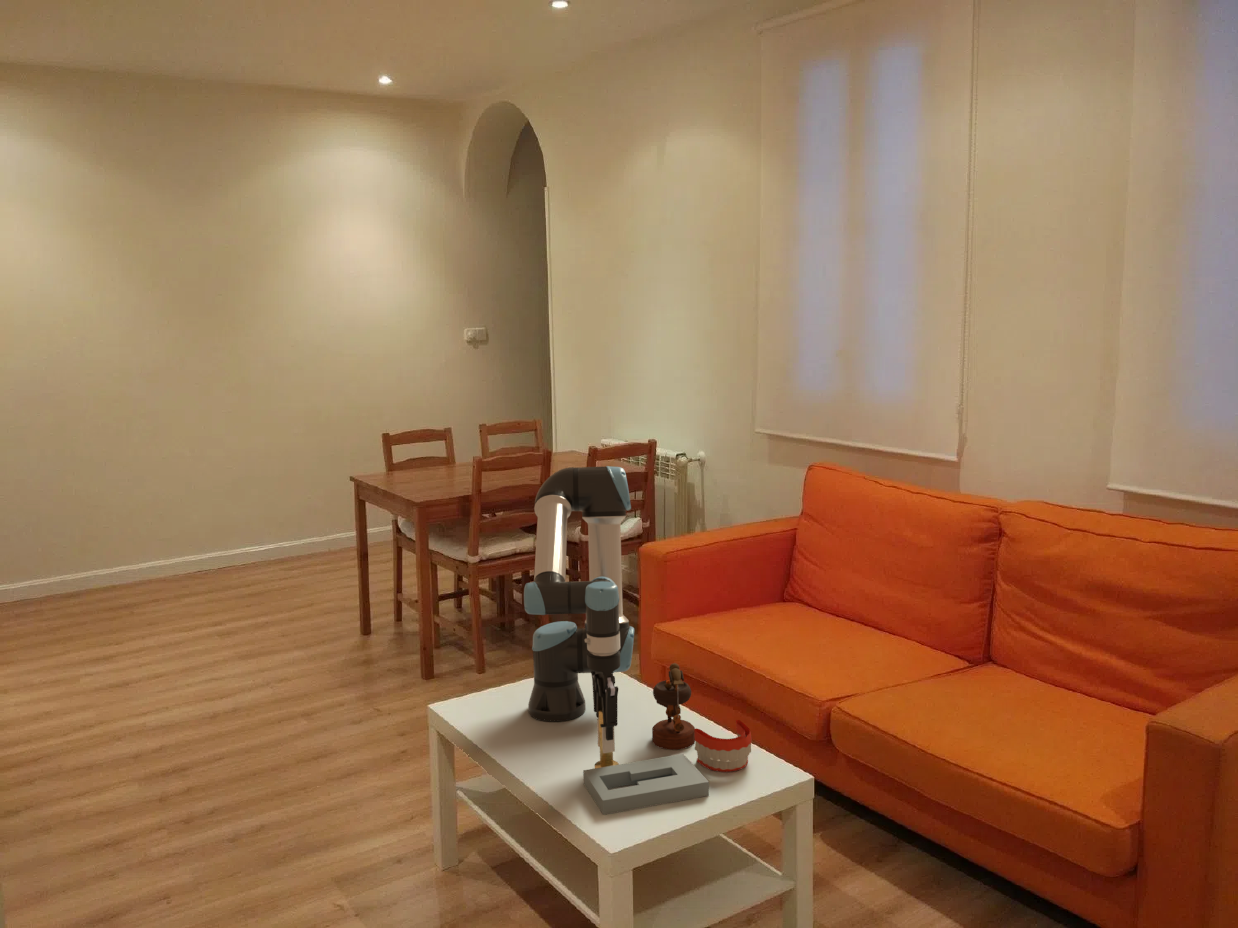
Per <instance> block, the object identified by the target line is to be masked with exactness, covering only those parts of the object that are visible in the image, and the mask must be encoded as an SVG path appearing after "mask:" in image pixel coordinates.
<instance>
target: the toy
mask: <svg viewBox="0 0 1238 928" xmlns="http://www.w3.org/2000/svg"><path fill="white" fill-rule="evenodd" d="M735 724H736V735H737V736H736V737H733V738H731V737H730V738H719V737H715V736H713V735H710V734H708V733H707V732H705V731H704V730H701V729H700V728H695V729H694V733H695V743H694V750H695V751H696V754H697V758H696V762H697V763H698V764H700V765H701V766H703V767H704V768H706V769H707V770H710V771H714V772H721V773H729V772H735V771H739V770H742V769H744V768H745V767H746V766H747V764H748V762H749V758H748V757H749V755H750V754H751V753H752V741H753V740H752V734H751V733H752V731H751V729H750V728H749V726H747V725H746V724H745V723H744V722H743V721H742V720H740V719H736V720H735Z"/></svg>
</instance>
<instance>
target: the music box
mask: <svg viewBox="0 0 1238 928" xmlns="http://www.w3.org/2000/svg"><path fill="white" fill-rule="evenodd" d="M668 678H669V679H666V680H661V681H659V682H657V683H656V684H655V686H654V687H653V690H652V695H653V697H654V699H655V701H656V704H658V705H660V706H662V707H664V708H666V709H665V714H666V716H667V719H663V720H660V721H658V722H656V723H655V724H654V725H653V726H652V729H651V732H652V733H651V734H652V740H651V741H652V743H653V745H654V746H655V747H657V748H659V749H660V748H661V749H663V750H670V751H671V750H672V751H676V750H684V749H687V748H690V747H692V746H693V745H695V742H696V741H695V733H694V729H696V728H695V726H694V725H693V724H692V723H691V722H689V721H687V720H684V719H682V716H681V711H682V709H681V707H680V705H682V704H685V703H687V702H688V701H689V700H690V699H691V696H692V689H691V687H690V685H689V684H688V683H687V682H686V681H685V677H684V674H683V670H680V665H679V664H678V663H677V662H673V663H671V664H670V666H669V670H668Z"/></svg>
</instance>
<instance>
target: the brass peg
mask: <svg viewBox="0 0 1238 928" xmlns="http://www.w3.org/2000/svg"><path fill="white" fill-rule="evenodd" d="M600 724H603V713H602V709H601V710H599V740H600V747H599V761H597V762H595V764H594V769H595V768H601V767H607V766H613V765H619V764H620V763H619V762H618V761H616V760H614V752H609V753H603V749H602V727H601V726H600Z"/></svg>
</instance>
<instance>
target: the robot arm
mask: <svg viewBox="0 0 1238 928" xmlns="http://www.w3.org/2000/svg"><path fill="white" fill-rule="evenodd" d="M629 490H630V489H629V485H628V479H627V474H626V471H625V468H623V467H621V466H611V465H610V466H609V465H606V466H585V467H584V466H582V467H581V466H579V467H574V466H573V467H565V468H561V469H559V470H557V471H555V472H554V473H552V474H551V475H550V476H549V477H548V478H546V479H545V481H544V482H543V483H542V485H541V486H540V488H539V489H538V491H537V493H536V496H535V500H534V513H535V516H536V517H537V523H536V525H537V526H536V540H535V556H534V557H535V559H534V560H535V561H534V575H533V576H534V577H533V581H532V582H526V583H525V585H524V589H523V605H524V611H525V613H527V615H538V616H540V615H541V616H545V615H564V614H565V615H567V614H568V615H571V614H572V615H576V614H585V620H584V628H583V627H582V628H578V626H577V624H576V623H575V622H573V621H568V620H565V621H564V620H563V621H554V622H550V623H547V624H544V625H542V626H540V627H538V628H537V629H536V630H535V631H534V632H533V635H532V647H531V651H532V657H533V658H532V659H533V687H532V690H531V694H530V697H529V700H528V714H529V716H530V717H531V718H533V719H536V720H539V721H543V722H564V721H565V722H566V721H569V720H573V719H577V718H578V717H580V716H582V715H583V714H584V713H586V699H585V697H584V693H583V691H582V689H581V686H580V683H579V674H591V681H592V699H593V701H592V702H593V712H594V713H595V716H596V719H597V721H596V724H597V725H596V726H597V729H596V730H597V746H598V748H600V740H599V710H601V709H602V713H603V724H600V726H601V727H602V749H603V753H609V752H613V753H614V752H616V750H615V748H616V747H615V745H616V743H615V727H617V726H618V697H619V696H618V694H619V686H618V685H617V686H615V685H616V676H614V674H615V673H622V672H623V673H624V672H627V671H629V670H630V668H631V665H632V659H633V658H632V657H633V649H634V638H635V628H634V627H633V626H631V625H629V624H630V623H629V622H630V621H629V619H628V618H627V616H625V615H624V614H623V613H624V612H623V611H624V608H623V575H622V572H623V571H622V537H621V533H622V532H621V524H622V522H623V521H624V520H625V518H626V517H627V511H630V510H631V509H632V505H631V498H630V491H629ZM572 512H581V515H582V517H581V518H582V520H584V522H585V523H587V529H588V530H587V533H588V534H587V535H588V572H589V574H588V575H589V580H587V581H586V580H585V581H582V580H581V581H579V580H578V581H566V576H567V575H566V572H567V571H566V569H567V544H568V543H567V541H568V540H567V539H568V538H567V536H568V519H569V517H570V516H571V514H572Z"/></svg>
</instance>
